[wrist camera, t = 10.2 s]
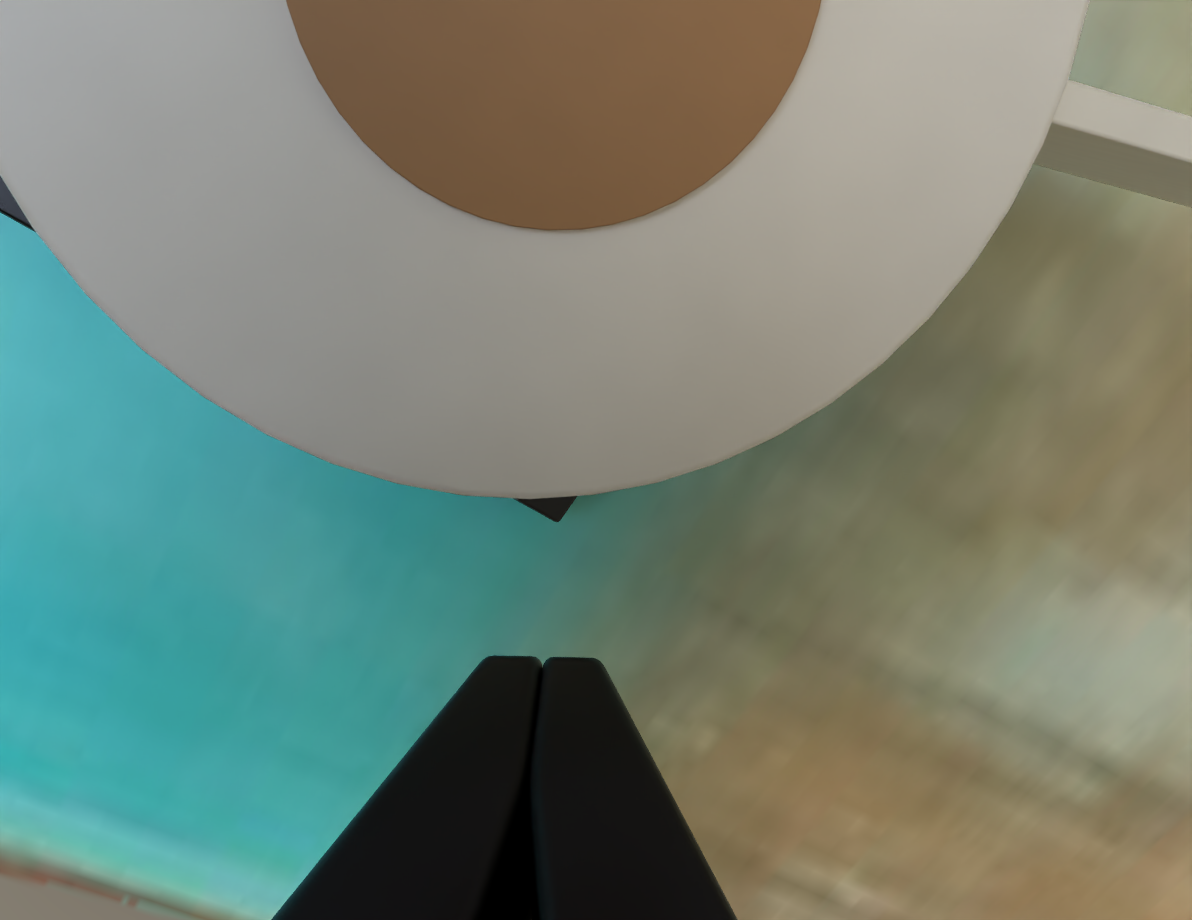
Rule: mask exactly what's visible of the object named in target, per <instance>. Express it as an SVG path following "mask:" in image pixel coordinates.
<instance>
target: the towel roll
mask: <svg viewBox="0 0 1192 920" xmlns="http://www.w3.org/2000/svg"><path fill="white" fill-rule="evenodd" d="M1089 2H1090V0H0V176H1V178H2V179H3V181H4V182H5V184H6V186H7V187H8V189H9V190H10V192H11V194H12V195H13V197H14V198H15V200H16V202H17V203H18V205H19V207H20V208H21V210H22V211H23V213H24V215H25V216H26V218H27V219H28V221H29V223H30V224H31V226H32V227H33V229H34V230H35V231H36V233H37V234H38V235H39V236H40V238H41V239H42V240H43V241H44V243H45V244H46V245H47V246H48V248H49V249H50V250H51V251H52V253H53V254H54V255H55V256H56V258H57V259H58V260H59V261H60V263H61V264H62V265H63V266H64V268H65V269H66V270H67V271H68V273H69V274H70V275H71V276H72V278H73V279H74V280H75V281H76V283H77V284H78V285H79V286H80V288H81V289H82V290H83V291H84V293H85V294H86V295H87V296H88V297H89V298H90V299H91V300H92V301H93V302H94V303H95V304H96V305H97V306H98V307H99V308H100V309H101V310H102V311H104V312H105V313H106V314H107V315H108V316H109V317H110V318H111V319H112V320H113V321H114V322H115V323H116V324H117V325H118V326H119V327H120V328H121V329H122V330H123V331H124V332H125V333H126V334H127V335H128V336H129V337H130V338H131V339H132V340H133V341H134V342H135V343H136V344H137V345H138V346H139V347H140V348H141V349H142V350H143V351H145V352H146V353H147V354H149V355H150V356H151V357H152V358H154V359H155V360H156V361H158V362H159V363H160V364H161V365H163V366H164V367H165V368H167V369H168V370H169V371H171V372H172V373H173V374H174V375H176V376H177V377H178V378H180V379H181V380H182V381H183V382H185V383H186V384H187V385H189V386H190V387H191V388H192V389H194V390H195V391H196V392H198V393H199V394H200V395H202V396H203V397H204V398H206V399H208V400H209V401H211V402H213V403H214V404H216V405H218V406H219V407H221V408H223V409H225V410H226V411H228V412H230V413H231V414H233V415H235V416H236V417H238V418H240V419H241V420H243V421H245V422H246V423H248V424H250V425H251V426H253V427H255V428H256V429H258V430H260V431H261V432H263V433H265V434H266V435H269V436H271V437H273V438H275V439H278V440H280V441H282V442H284V443H287V444H289V445H291V446H293V447H295V448H298V449H300V450H302V451H304V452H307V453H309V454H311V455H313V456H316V457H318V458H320V459H322V460H325V461H327V462H329V463H331V464H335V465H338V466H341V467H345V468H348V469H351V470H354V471H358V472H361V473H364V474H367V475H371V476H374V477H377V478H380V479H384V480H387V481H390V482H393V483H397V484H402V485H408V486H413V487H419V488H424V489H430V490H436V491H441V492H447V493H452V494H458V495H465V496H484V497H502V498H520V499H538V498H552V497H567V496H582V495H595V494H600V493H606V492H611V491H616V490H621V489H627V488H632V487H637V486H642V485H648V484H653V483H658V482H661V481H664V480H667V479H670V478H673V477H677V476H680V475H683V474H686V473H689V472H692V471H695V470H699V469H702V468H705V467H708V466H711V465H714V464H717V463H720V462H722V461H724V460H726V459H728V458H731V457H733V456H735V455H737V454H739V453H742V452H744V451H746V450H748V449H750V448H753V447H755V446H757V445H759V444H761V443H764V442H766V441H768V440H770V439H772V438H775V437H776V436H778V435H780V434H781V433H783V432H785V431H786V430H788V429H790V428H791V427H793V426H795V425H796V424H798V423H800V422H801V421H803V420H805V419H806V418H808V417H810V416H811V415H813V414H815V413H816V412H818V411H820V410H821V409H823V408H824V407H826V406H828V405H829V404H831V403H832V402H833V401H835V400H836V399H837V398H839V397H840V396H841V395H843V394H844V393H845V392H846V391H848V390H849V389H850V388H852V387H853V386H854V385H856V384H857V383H858V382H859V381H861V380H862V379H863V378H865V377H866V376H867V375H868V374H870V373H871V372H872V371H874V370H875V369H876V368H878V367H879V366H880V365H881V364H882V363H884V362H885V361H886V360H887V359H888V358H889V357H890V356H891V355H892V354H893V353H894V352H895V351H896V350H897V349H898V348H899V347H900V346H901V345H902V344H903V343H904V342H905V341H906V340H907V339H908V338H909V337H910V336H911V335H912V334H913V333H914V332H915V331H917V330H918V329H919V328H920V327H921V326H922V325H923V324H924V323H925V322H926V321H927V320H928V319H929V318H930V317H931V315H932V314H933V313H934V312H935V311H936V309H937V308H938V307H939V306H940V305H941V303H942V302H943V301H944V300H945V298H946V297H947V296H948V295H949V294H950V292H951V291H952V290H953V289H954V288H955V286H956V285H957V284H958V283H959V282H960V280H961V279H962V278H963V277H964V275H965V274H966V273H967V272H968V271H969V269H970V268H971V267H972V266H973V264H974V263H975V261H976V260H977V258H978V257H979V255H980V254H981V252H982V251H983V249H984V247H985V246H986V244H987V243H988V241H989V240H990V238H991V237H992V235H993V234H994V232H995V231H996V229H997V228H998V226H999V225H1000V223H1001V222H1002V220H1003V219H1004V217H1005V216H1006V214H1007V212H1008V211H1009V209H1010V208H1011V206H1012V204H1013V202H1014V200H1015V198H1016V196H1017V194H1018V192H1019V190H1020V188H1021V187H1022V185H1023V183H1024V181H1025V179H1026V177H1027V175H1028V173H1029V171H1030V169H1031V167H1032V165H1033V164H1035V165H1039V166H1042V167H1046V168H1050V169H1053V170H1057V171H1061V172H1064V173H1068V174H1072V175H1075V176H1079V177H1082V178H1086V179H1090V180H1093V181H1097V182H1101V183H1104V184H1108V185H1112V186H1115V187H1119V188H1122V189H1126V190H1130V191H1133V192H1137V193H1141V194H1144V195H1148V196H1151V197H1155V198H1159V199H1162V200H1166V201H1170V202H1173V203H1177V204H1181V205H1184V206H1188V207H1191V208H1192V116H1189V115H1185V114H1182V113H1179V112H1175V111H1172V110H1169V109H1165V108H1162V107H1159V106H1155V105H1152V104H1149V103H1146V102H1142V101H1139V100H1136V99H1132V98H1129V97H1126V96H1122V95H1119V94H1116V93H1112V92H1109V91H1106V90H1102V89H1099V88H1096V87H1093V86H1089V85H1086V84H1083V83H1079V82H1076V81H1073V80H1069V76H1070V73H1071V69H1072V65H1073V62H1074V58H1075V54H1076V51H1077V47H1078V43H1079V40H1080V36H1081V32H1082V28H1083V25H1084V21H1085V17H1086V14H1087V10H1088V6H1089Z"/></svg>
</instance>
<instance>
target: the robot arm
mask: <svg viewBox="0 0 1192 920" xmlns="http://www.w3.org/2000/svg"><path fill="white" fill-rule="evenodd" d="M271 920H737V918H736V916H735V914H734V912H733V910H732V908H731V906H730V904H729V903H728V901H727V899H726V897H725V895H724V893H723V891H722V889H721V887H720V885H719V884H718V882H717V880H716V878H715V876H714V874H713V872H712V870H711V868H710V866H709V865H708V863H707V861H706V859H705V857H704V855H703V853H702V851H701V849H700V847H699V845H698V844H697V842H696V840H695V838H694V836H693V834H692V832H691V830H690V828H689V826H688V825H687V823H686V821H685V819H684V817H683V815H682V813H681V811H680V809H679V807H678V805H677V804H676V802H675V800H674V798H673V796H672V794H671V792H670V790H669V788H668V786H667V785H666V783H665V781H664V779H663V777H662V775H661V773H660V771H659V769H658V767H657V765H656V764H655V762H654V760H653V758H652V756H651V754H650V752H649V750H648V748H647V746H646V745H645V743H644V741H643V739H642V737H641V735H640V733H639V731H638V729H637V727H636V726H635V724H634V722H633V720H632V718H631V716H630V714H629V712H628V710H627V708H626V706H625V705H624V703H623V701H622V699H621V697H620V695H619V693H618V691H617V689H616V687H615V686H614V684H613V682H612V680H611V678H610V676H609V674H608V672H607V670H606V668H605V667H604V665H603V664H602V663H601V662H600V661H599V660H597V659H595V658H580V657H550V658H549V659H547V660H546V661H545V663H544V664H543V668H542V664H541V662H540V660H539V659H538V658H536V657H533V656H497V655H493V656H488V657H486V658H485V659H483V660H482V661H481V662H480V663H479V665H478V666H477V667H476V668H475V669H474V671H473V672H472V673H471V674H470V676H469V677H468V678H467V679H466V681H465V682H464V683H463V684H462V685H461V687H460V688H459V689H458V690H457V692H456V693H455V694H454V695H453V697H452V698H451V699H450V700H449V701H448V703H447V704H446V705H445V706H444V708H443V709H442V710H441V711H440V713H439V714H438V715H437V716H436V717H435V719H434V720H433V721H432V722H431V724H430V725H429V726H428V727H427V729H426V730H425V731H424V732H423V734H422V735H421V736H420V737H419V738H418V740H417V741H416V742H415V743H414V745H413V746H412V747H411V748H410V750H409V751H408V752H407V753H406V754H405V756H404V757H403V758H402V759H401V761H400V762H399V763H398V764H397V766H396V767H395V768H394V769H393V770H392V772H391V773H390V774H389V775H388V777H387V778H386V779H385V780H384V782H383V783H382V784H381V785H380V786H379V788H378V789H377V790H376V791H375V793H374V794H373V795H372V796H371V798H370V799H369V800H368V801H367V802H366V804H365V805H364V806H363V807H362V809H361V810H360V811H359V812H358V814H357V815H356V816H355V817H354V818H353V820H352V821H351V822H350V823H349V825H348V826H347V827H346V828H345V830H344V831H343V832H342V833H341V834H340V836H339V837H338V838H337V839H336V841H335V842H334V843H333V844H332V846H331V847H330V848H329V849H328V851H327V852H326V853H325V854H324V855H323V857H322V858H321V859H320V860H319V862H318V863H317V864H316V865H315V867H314V868H313V869H312V870H311V871H310V873H309V874H308V875H307V876H306V878H305V879H304V880H303V881H302V883H301V884H300V885H299V886H298V887H297V889H296V890H295V891H294V892H293V894H292V895H291V896H290V897H289V899H288V900H287V901H286V902H285V903H284V905H283V906H282V907H281V908H280V910H279V911H278V912H277V913H276V915H275V916H274V917H273V918H272V919H271Z"/></svg>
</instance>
